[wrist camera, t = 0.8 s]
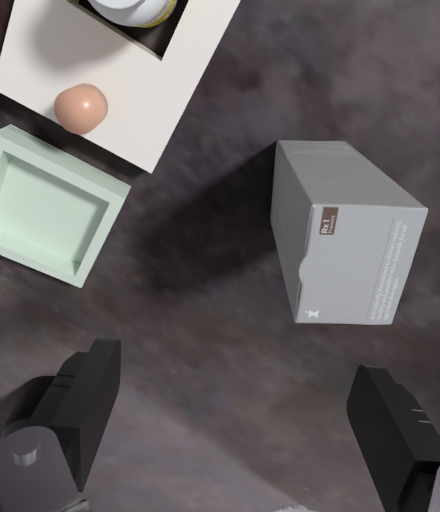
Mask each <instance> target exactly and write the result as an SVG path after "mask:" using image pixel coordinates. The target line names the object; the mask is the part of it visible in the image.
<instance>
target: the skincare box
mask: <svg viewBox="0 0 440 512" xmlns="http://www.w3.org/2000/svg"><path fill="white" fill-rule="evenodd" d="M427 212H428V209H427V208H426V207H424V206H423V205H422V204H421V203H420V202H418V201H417V200H416V199H415V198H414V197H412V196H411V195H410V194H409V193H408V192H406V191H405V190H404V189H403V188H402V187H400V186H399V185H398V184H397V183H395V182H394V181H393V180H392V179H391V178H389V177H388V176H387V175H386V174H384V173H383V172H382V171H381V170H380V169H378V168H377V167H376V166H375V165H373V164H372V163H371V162H370V161H369V160H367V159H366V158H365V157H364V156H363V155H361V154H360V153H359V152H358V151H356V150H355V149H354V148H353V147H351V146H350V145H349V144H348V143H347V142H345V141H283V140H282V141H277V143H276V154H275V166H274V179H273V192H272V205H271V225H272V229H273V233H274V237H275V242H276V246H277V250H278V255H279V259H280V263H281V267H282V272H283V276H284V280H285V285H286V289H287V293H288V297H289V301H290V306H291V310H292V314H293V318H294V321H295V322H296V323H344V324H370V325H380V324H391V323H392V321H393V318H394V315H395V312H396V309H397V305H398V302H399V300H400V297H401V294H402V291H403V288H404V285H405V282H406V279H407V276H408V273H409V270H410V267H411V264H412V260H413V257H414V254H415V251H416V248H417V244H418V241H419V238H420V235H421V231H422V228H423V225H424V222H425V219H426V215H427Z"/></svg>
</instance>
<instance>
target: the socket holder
mask: <svg viewBox="0 0 440 512" xmlns="http://www.w3.org/2000/svg"><path fill="white" fill-rule="evenodd" d="M239 2H240V0H189V1H188V3H187V6H186V8H185V10H184V12H183V14H182V17H181V19H180V21H179V23H178V25H177V28H176V30H175V32H174V34H173V36H172V39H171V41H170V43H169V45H168V48H167V50H166V52H165V54H164V56H163V58H162V57H161V56H159V55H158V54H156V53H154V52H153V51H151V50H150V49H148V48H147V47H145V46H143V45H142V44H140V43H139V42H137V41H136V40H134V39H133V38H131V37H129V36H128V35H126V34H125V33H123V32H122V31H120V30H118V29H117V28H115V27H114V26H112V25H111V24H109V23H108V22H106V21H104V20H103V19H101V18H100V17H98V16H97V15H95V14H94V13H92V12H90V11H89V10H87V9H86V8H84V7H83V6H81V5H79V4H78V3H79V0H15V1H14V5H13V9H12V13H11V17H10V21H9V24H8V28H7V32H6V36H5V40H4V44H3V48H2V52H1V56H0V93H2V94H4V95H5V96H7V97H9V98H11V99H13V100H15V101H17V102H19V103H20V104H22V105H24V106H26V107H28V108H30V109H32V110H34V111H35V112H37V113H39V114H41V115H43V116H45V117H47V118H49V119H50V120H52V121H54V122H56V123H58V124H60V125H61V126H62V127H63V128H65V129H66V130H67V131H69V132H71V133H74V134H78V135H80V136H82V137H84V138H86V139H88V140H90V141H92V142H93V143H95V144H97V145H99V146H101V147H103V148H105V149H107V150H108V151H110V152H112V153H114V154H116V155H118V156H120V157H121V158H123V159H125V160H127V161H129V162H131V163H133V164H135V165H136V166H138V167H140V168H142V169H144V170H146V171H148V172H150V173H151V174H152V172H153V170H154V168H155V166H156V164H157V162H158V160H159V158H160V156H161V154H162V152H163V150H164V148H165V146H166V144H167V143H168V141H169V139H170V137H171V135H172V133H173V131H174V129H175V127H176V125H177V123H178V121H179V119H180V117H181V115H182V113H183V111H184V109H185V107H186V106H187V104H188V102H189V100H190V98H191V96H192V94H193V92H194V90H195V88H196V86H197V84H198V82H199V80H200V78H201V76H202V74H203V72H204V70H205V68H206V67H207V65H208V63H209V61H210V59H211V57H212V55H213V53H214V51H215V49H216V47H217V45H218V43H219V41H220V39H221V37H222V35H223V33H224V31H225V30H226V28H227V26H228V24H229V22H230V20H231V18H232V16H233V14H234V12H235V10H236V8H237V6H238V4H239Z"/></svg>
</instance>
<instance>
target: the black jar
mask: <svg viewBox="0 0 440 512" xmlns="http://www.w3.org/2000/svg"><path fill="white" fill-rule="evenodd" d="M54 378H55V377H40V378H37V379H35V380H33V381H31V382H30V383H28V384H27V385H26V386H25V387H24V389H23V390H22V392H21V394H20V396H19V398H18V400H17V402H16V404H15V406H14V408H13V410H12V412H11V414H10V416H9V418H8V420H7V422H6V424H5V426H4V428H3V430H2V433H1V441H3V440H4V439H5V438H6V437H7V436H9V435H10V434H12V433H13V432H15V431H17V430H20V429H23V428H24V427H25V426H26V424H27V422H28V421H29V419H30V417H31V416H32V414H33V412H34V411H35V409H36V408H37V406H38V404H39V403H40V401H41V399H42V398H43V396H44V394H45V393H46V391H47V389H48V388H49V387H50V386H51V383H52V381H53V380H54Z"/></svg>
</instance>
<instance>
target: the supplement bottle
mask: <svg viewBox="0 0 440 512" xmlns="http://www.w3.org/2000/svg"><path fill="white" fill-rule="evenodd" d="M88 1H89V2H90V4H91V5H92V6H93V7H94V8H95V9H96V10H97V11H98V12H99V13H100V14H101V15H102V16H104V17H105V18H107V19H108V20H110V21H112V22H114V23H117V24H120V25H124V26H133V27H144V28H147V27H153V26H156V25H159V24H160V23H162V22H163V21H165V20H166V19H167V18H168V17H169V16H170V15H171V13H172V12H173V10H174V8H175V6H176V3H177V0H88Z"/></svg>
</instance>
